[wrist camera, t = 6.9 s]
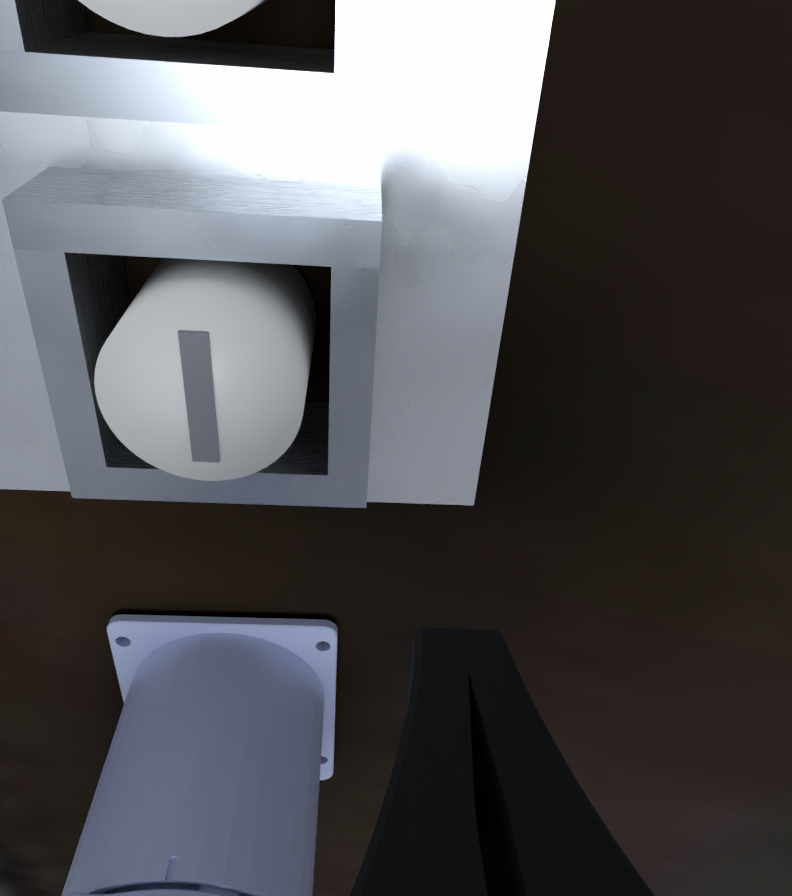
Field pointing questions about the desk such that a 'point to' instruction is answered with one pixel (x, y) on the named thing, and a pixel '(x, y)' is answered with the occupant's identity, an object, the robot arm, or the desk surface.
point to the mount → (270, 230)
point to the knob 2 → (210, 367)
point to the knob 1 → (171, 14)
